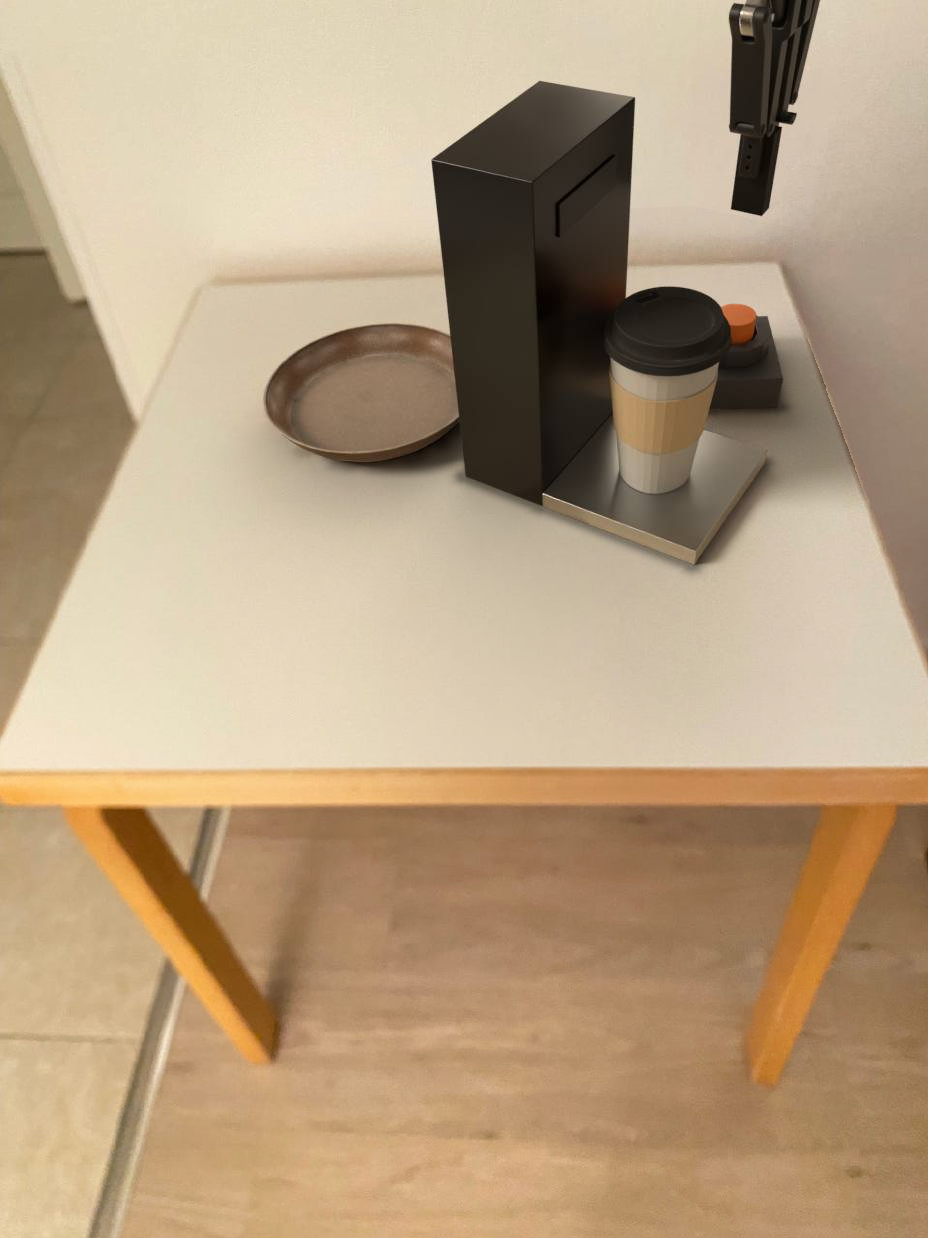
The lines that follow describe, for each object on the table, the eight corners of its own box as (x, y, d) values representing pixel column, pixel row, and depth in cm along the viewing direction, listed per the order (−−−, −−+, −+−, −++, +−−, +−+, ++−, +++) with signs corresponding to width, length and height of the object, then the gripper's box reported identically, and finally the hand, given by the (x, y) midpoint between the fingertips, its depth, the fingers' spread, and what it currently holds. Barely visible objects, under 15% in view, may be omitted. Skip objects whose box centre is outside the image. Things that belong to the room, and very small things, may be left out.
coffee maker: (764, 463, 84) (830, 129, 63) (694, 565, 77) (740, 228, 56) (546, 391, 93) (539, 79, 72) (465, 476, 86) (430, 158, 65)
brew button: (755, 344, 88) (759, 324, 86) (715, 346, 88) (717, 326, 86) (750, 322, 90) (753, 302, 88) (711, 323, 90) (713, 303, 89)
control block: (777, 407, 89) (787, 360, 85) (688, 410, 90) (694, 364, 86) (762, 344, 95) (770, 298, 91) (679, 347, 96) (684, 302, 92)
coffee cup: (633, 423, 87) (642, 268, 75) (731, 458, 83) (757, 299, 71) (578, 485, 82) (579, 329, 71) (679, 524, 78) (698, 366, 67)
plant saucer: (288, 352, 101) (281, 324, 99) (486, 342, 99) (483, 313, 97) (253, 485, 88) (244, 457, 85) (481, 476, 86) (478, 447, 84)
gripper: (785, -176, 67) (739, 166, 85) (703, -123, 61) (672, 235, 78) (895, -171, 64) (823, 183, 82) (821, -115, 57) (761, 256, 75)
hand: (749, 208), depth 80 cm, fingers closed
